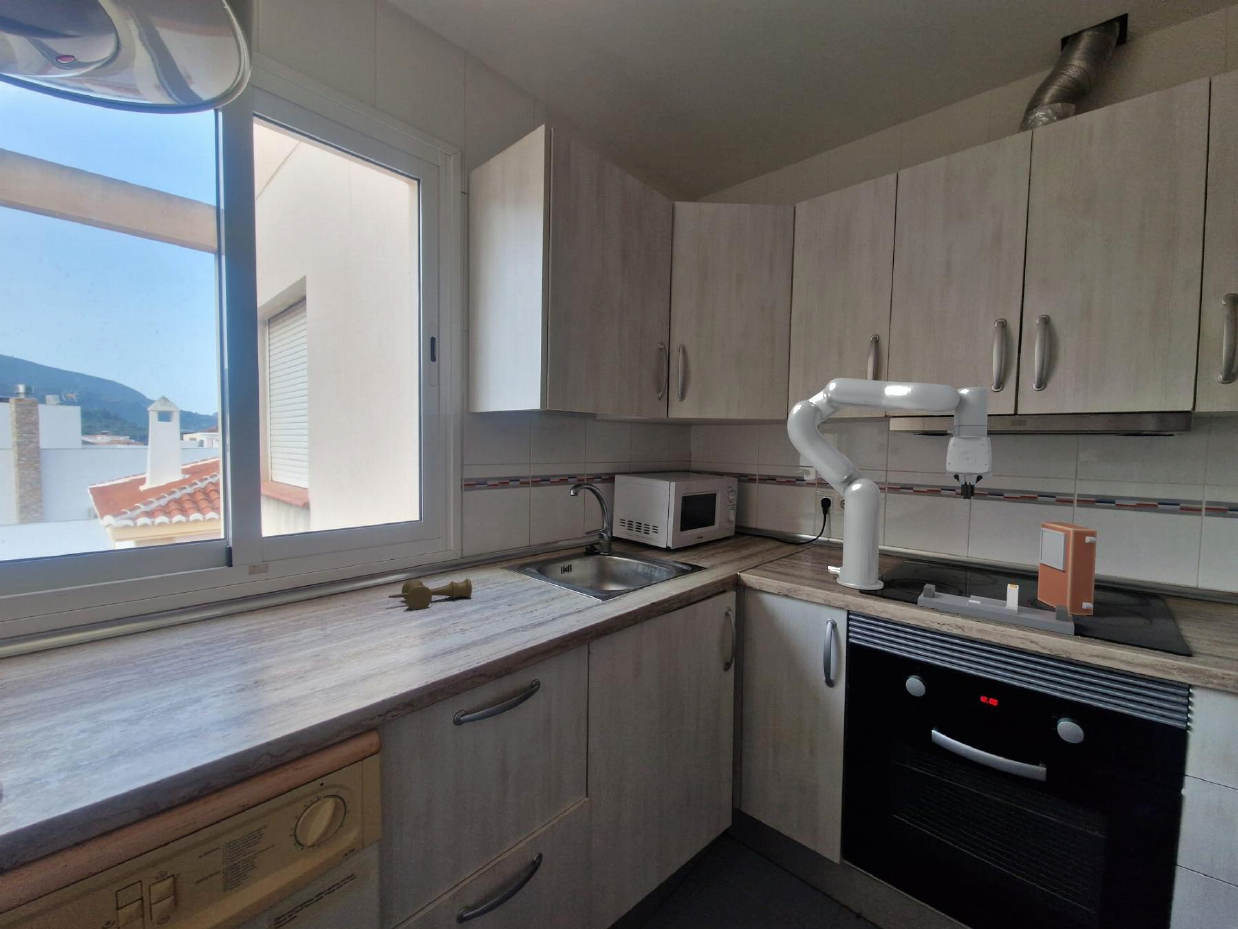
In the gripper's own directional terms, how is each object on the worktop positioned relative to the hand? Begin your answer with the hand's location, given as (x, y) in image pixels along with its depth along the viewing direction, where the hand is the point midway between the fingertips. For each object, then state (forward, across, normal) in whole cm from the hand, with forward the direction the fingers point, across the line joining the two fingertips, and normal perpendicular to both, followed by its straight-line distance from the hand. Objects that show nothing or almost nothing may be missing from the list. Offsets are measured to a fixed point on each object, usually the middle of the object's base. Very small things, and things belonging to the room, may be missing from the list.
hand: (967, 498), depth 139 cm
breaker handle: (+25, +11, -15) cm, 31 cm away
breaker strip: (+27, +7, -15) cm, 32 cm away
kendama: (+28, -103, -102) cm, 147 cm away
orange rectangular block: (+27, +21, +5) cm, 35 cm away
